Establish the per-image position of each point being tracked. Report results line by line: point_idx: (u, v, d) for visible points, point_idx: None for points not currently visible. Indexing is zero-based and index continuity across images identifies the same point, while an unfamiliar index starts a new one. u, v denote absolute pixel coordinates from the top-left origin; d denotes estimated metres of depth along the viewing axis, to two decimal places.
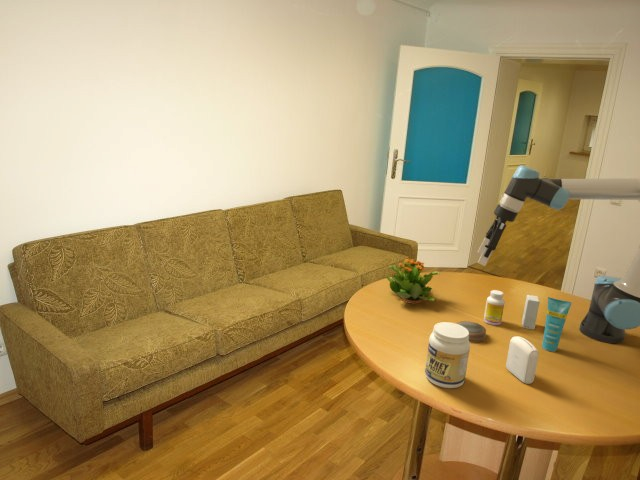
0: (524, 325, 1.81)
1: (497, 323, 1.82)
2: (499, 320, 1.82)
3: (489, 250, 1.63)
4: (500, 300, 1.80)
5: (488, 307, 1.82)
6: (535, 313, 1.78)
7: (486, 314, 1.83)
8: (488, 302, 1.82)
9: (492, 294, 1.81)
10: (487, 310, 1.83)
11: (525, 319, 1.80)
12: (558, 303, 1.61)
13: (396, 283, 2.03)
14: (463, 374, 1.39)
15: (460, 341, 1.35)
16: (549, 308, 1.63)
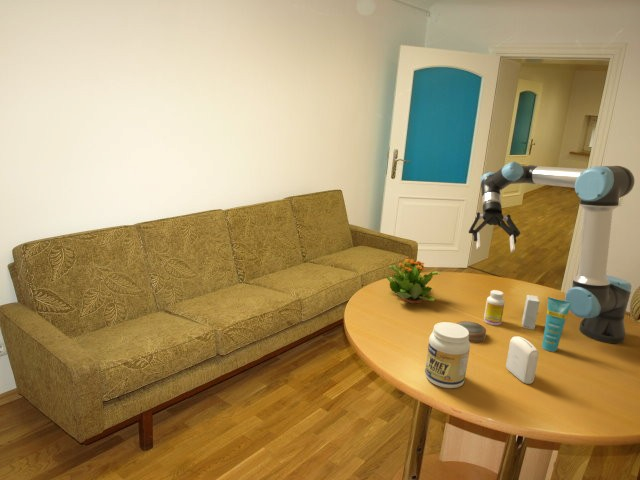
0: (524, 325, 1.81)
1: (497, 323, 1.82)
2: (499, 320, 1.82)
3: (473, 234, 1.91)
4: (500, 300, 1.80)
5: (488, 307, 1.82)
6: (535, 313, 1.78)
7: (486, 314, 1.83)
8: (488, 302, 1.82)
9: (492, 294, 1.81)
10: (487, 310, 1.83)
11: (525, 319, 1.80)
12: (558, 303, 1.61)
13: (396, 283, 2.03)
14: (463, 374, 1.39)
15: (460, 341, 1.35)
16: (549, 308, 1.63)
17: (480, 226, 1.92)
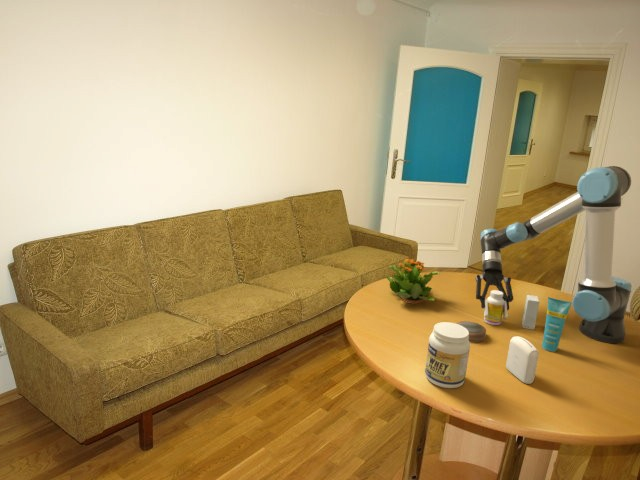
0: (524, 325, 1.81)
1: (497, 323, 1.82)
2: (499, 320, 1.82)
3: (481, 300, 1.84)
4: (500, 300, 1.80)
5: (488, 307, 1.82)
6: (535, 313, 1.78)
7: None
8: (488, 302, 1.82)
9: (492, 294, 1.81)
10: None
11: (525, 319, 1.80)
12: (558, 303, 1.61)
13: (396, 283, 2.03)
14: (463, 374, 1.39)
15: (460, 341, 1.35)
16: (549, 308, 1.63)
17: (485, 291, 1.85)
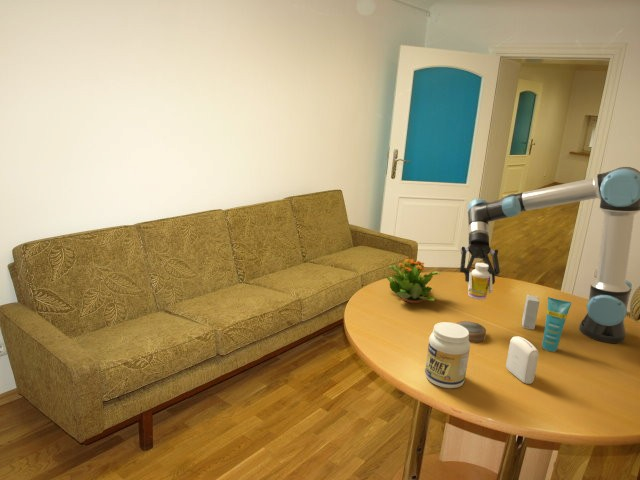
0: (524, 325, 1.81)
1: (482, 297, 1.71)
2: (484, 294, 1.71)
3: (465, 273, 1.73)
4: (485, 273, 1.69)
5: (472, 280, 1.71)
6: (535, 313, 1.78)
7: None
8: (472, 275, 1.71)
9: (476, 266, 1.70)
10: None
11: (525, 319, 1.80)
12: (558, 303, 1.61)
13: (396, 283, 2.03)
14: (463, 374, 1.39)
15: (460, 341, 1.35)
16: (549, 308, 1.63)
17: (470, 263, 1.74)
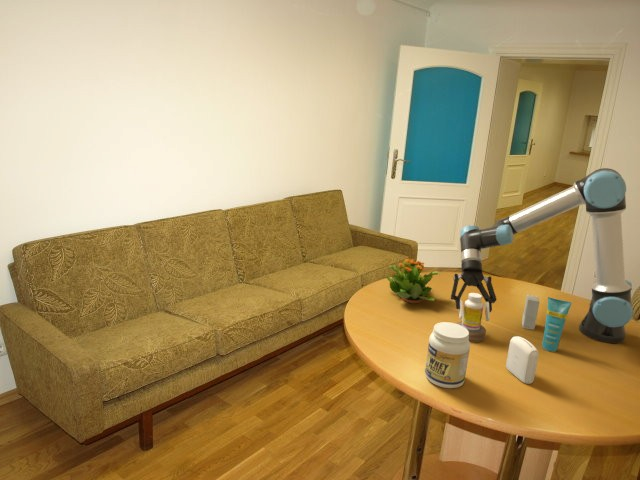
0: (524, 325, 1.81)
1: (476, 328, 1.69)
2: (478, 325, 1.69)
3: (456, 301, 1.71)
4: (478, 303, 1.68)
5: (466, 311, 1.69)
6: (535, 313, 1.78)
7: (464, 318, 1.71)
8: (466, 306, 1.69)
9: (470, 297, 1.68)
10: (465, 314, 1.70)
11: (525, 319, 1.80)
12: (558, 303, 1.61)
13: (396, 283, 2.03)
14: (463, 374, 1.39)
15: (460, 341, 1.35)
16: (549, 308, 1.63)
17: (461, 291, 1.72)
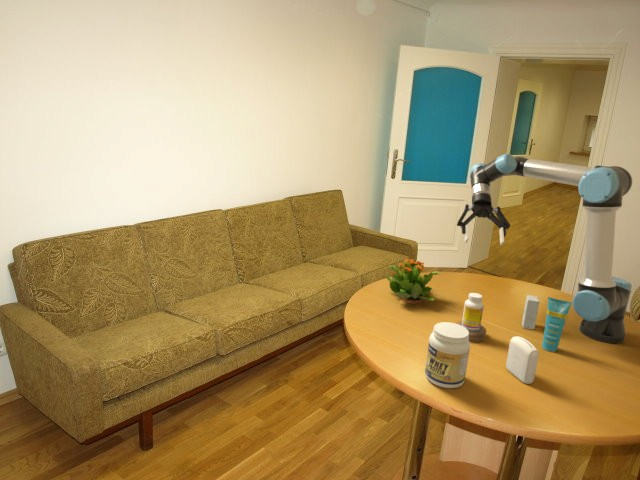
0: (524, 325, 1.81)
1: (476, 328, 1.69)
2: (478, 325, 1.69)
3: (462, 226, 1.85)
4: (479, 303, 1.68)
5: (466, 311, 1.69)
6: (535, 313, 1.78)
7: (464, 318, 1.71)
8: (466, 306, 1.69)
9: (470, 297, 1.68)
10: (465, 314, 1.70)
11: (525, 319, 1.80)
12: (558, 303, 1.61)
13: (396, 283, 2.03)
14: (463, 374, 1.39)
15: (460, 341, 1.35)
16: (549, 308, 1.63)
17: (469, 218, 1.85)
